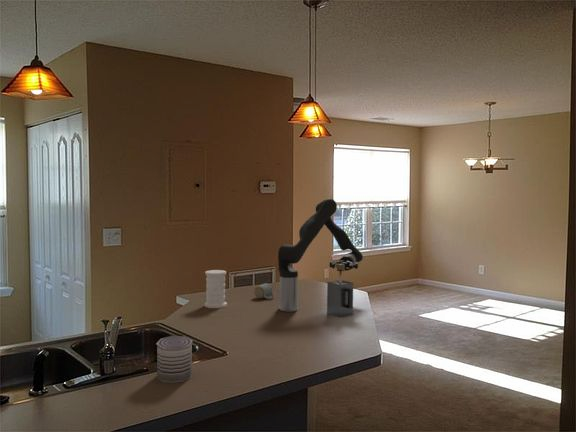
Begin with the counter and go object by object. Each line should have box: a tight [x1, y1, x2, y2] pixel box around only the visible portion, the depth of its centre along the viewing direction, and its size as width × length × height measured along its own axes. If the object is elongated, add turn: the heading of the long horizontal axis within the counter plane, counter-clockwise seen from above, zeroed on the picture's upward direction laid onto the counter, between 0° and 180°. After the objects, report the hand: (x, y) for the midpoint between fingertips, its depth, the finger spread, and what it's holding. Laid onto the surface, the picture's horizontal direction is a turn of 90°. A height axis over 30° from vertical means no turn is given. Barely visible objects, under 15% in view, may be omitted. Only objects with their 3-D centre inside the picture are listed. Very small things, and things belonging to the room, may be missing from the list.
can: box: [155, 335, 194, 384], centre depth 168 cm, size 11×11×12 cm
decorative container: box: [204, 269, 228, 309], centre depth 268 cm, size 12×12×18 cm
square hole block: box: [326, 279, 354, 318], centre depth 251 cm, size 12×9×16 cm
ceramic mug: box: [253, 282, 274, 300], centre depth 287 cm, size 11×8×8 cm
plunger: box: [335, 264, 345, 283], centre depth 252 cm, size 7×7×20 cm
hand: (341, 266), depth 253 cm, fingers open, 8 cm apart
